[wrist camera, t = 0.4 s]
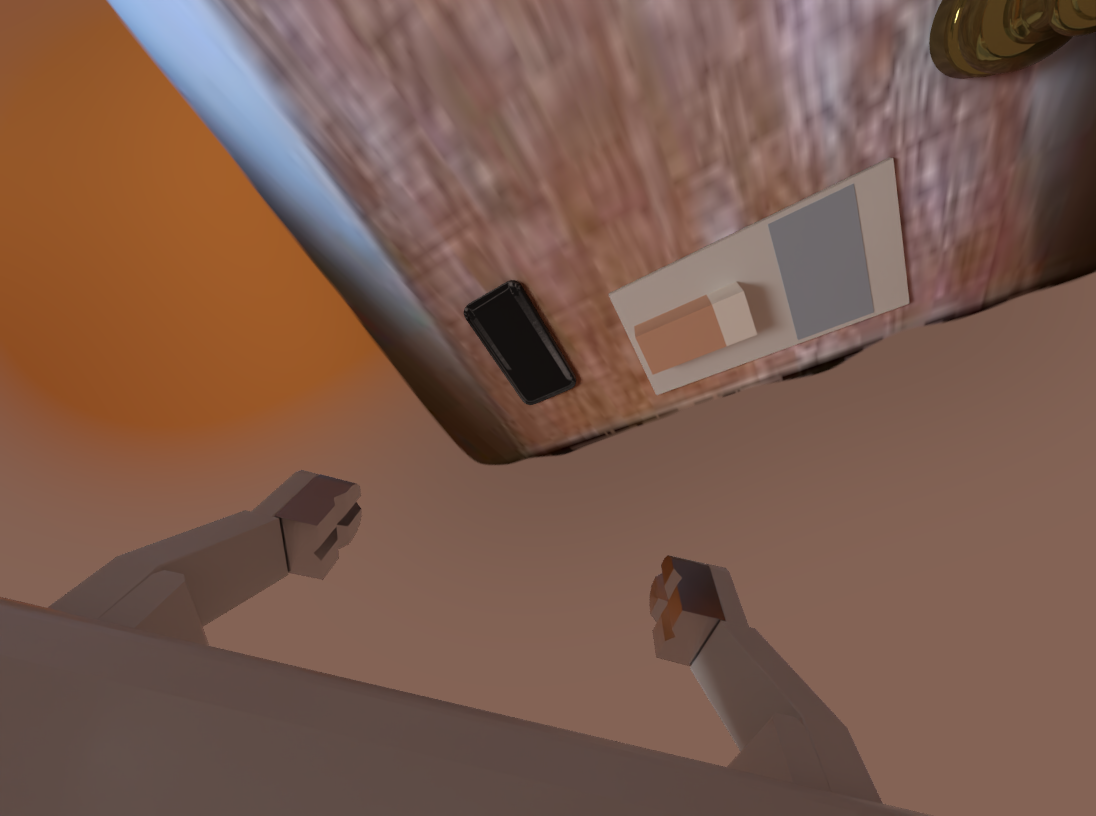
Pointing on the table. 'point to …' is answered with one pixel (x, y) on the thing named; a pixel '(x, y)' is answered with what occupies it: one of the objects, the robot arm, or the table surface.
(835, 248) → the mat
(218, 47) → the table surface
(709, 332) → the two-tone tall block
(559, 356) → the phone
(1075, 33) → the olive green vase
